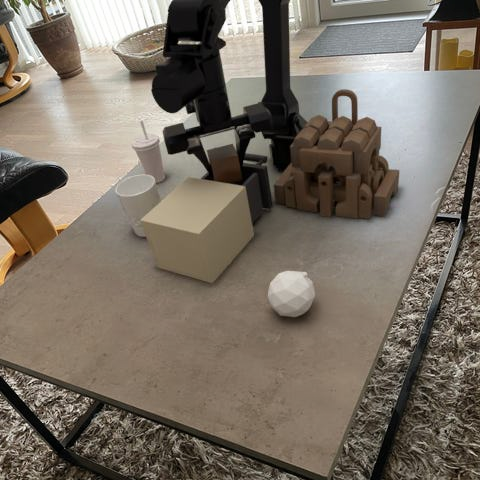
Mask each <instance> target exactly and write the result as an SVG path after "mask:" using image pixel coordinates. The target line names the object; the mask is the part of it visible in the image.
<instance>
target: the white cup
mask: <svg viewBox="0 0 480 480" xmlns="http://www.w3.org/2000/svg"><path fill="white" fill-rule="evenodd" d="M158 189H159V188H158V185H157V183H156V182H155V179H154V177H153V176H151V175H147V174H146V173H145V174H144V173H143V174H135V175H132V176H129V177H126V178H125V179H123V180H121V181H119V183H118V184H117V185H116V187H115V190H114V191H115V194H116V196H117V198H118V200H119V203H120V205H121V208H122V210H123V211H124V213H125V215H126V219H127V220H128V221H129V223H130V225H131V227H132V230H133V232H134V234H135V235H137V236H138V237H142V238H147V237H146V235H145V232H144V229H143V227H142V224H141V221H140V220H141V219H142V218H143V217H144V216H145V215H146V214H148V213H149V212H150V211H151V210H152V209H153V208H154V207H155V206H157V205H158V204H159V203H160V202H161V201H162V200H161V197H160V193H159V190H158Z"/></svg>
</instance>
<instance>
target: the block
mask: <svg viewBox="0 0 480 480" xmlns="http://www.w3.org/2000/svg"><path fill="white" fill-rule="evenodd" d="M206 155H207V158H208V161H209V163H210V166H211V169H212V172H213V178H214V181H216V182H222V183H228V184H230V183H234V182H237V181H241V180H242V174H241V169H240V163H239V158H238V154H237V152H236V146H235V145H234V143H230V144H225V145H222V146H218V147H214V148H209V149H207V150H206Z"/></svg>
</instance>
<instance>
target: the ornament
mask: <svg viewBox="0 0 480 480" xmlns="http://www.w3.org/2000/svg"><path fill="white" fill-rule="evenodd" d="M314 287H315V286H314V283H313V281H312V280H311V279H310V278H309V277H308V272H307V271H296V270H284V271H282V272H278V274H277V275H276V276H274V278H273V279H272V280H271V282H270V283H269V285H268V291H267V299H268V302H269V306H270V307H271V308H272V309H273V310H274V311H275V312H276V313H277V314H279V316H280V317H290V318H297V317H299V316H302V315H304V314H305V313H306V312H308V311H309V310H310V308H311V307H312V304H313V302H314V299H315V297H316V294H315V288H314Z"/></svg>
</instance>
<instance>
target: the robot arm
mask: <svg viewBox="0 0 480 480" xmlns="http://www.w3.org/2000/svg"><path fill="white" fill-rule="evenodd" d="M230 1H231V0H171V2H170V4H169V5H168V7H167V17H166V25H165V34H164V41H163V47H162V48H163V49H162V57H163V58H164V59H165V58H167V59H166V60H165V61H162V62H159V63H157V64H156V65H155V67H154V68H155V72H156V75H155V76H153V79H152V81H151V90H150V91H151V95H152V97H153V99H154V101H155V103H156V104H157V106H158V107H159V108H160V109H161V110H163V111H164V112H166V113H168V114H177V113H178V112H179V111H181V110H182V109H184V108H185V111H186V114H187V115H191V114H195V117H196V121H197V123H198V124H199V125H197V126H192V127H189V128H186V127H185V125H184V124H185V123H184V122H180V123H175V124H172V125H167V126H165V127H164V128H163V130H162V136H163V141H164V144H165V145H164V146H165V148H166V152H167V154H168V155H171V156H172V155H176V154H181V153H184V152H186V154H187V155H189V156H190V155H194V156H195V158H196V159H197V160H198V161H199V162H200V163H201V164H202V165H203V167H204V168H205V170H206V171H207V172H208V173H209V174H210V176H211V177H213V172H212V169H211V166H210V163H209V158H208V154H207V152H206V150H205V147H204V145H203V143H202V140H201V138H206V137H209V136H213V135H217V134H221V133H225V132H230V131H233V133H234V139H235V140H234V141H235V150H236V152H237V154H238V158H239V163H240V169H241V170H242V166H243V163H244V162H245V161H244V157H245V153H247V150H248V148H249V145H250V142H251V141H252V139H255V138H256V134H258V133H261V135H262V137H263V139H264V140H270V143H269V144H268V150H269V156H270V162H271V164H272V166H273V167H275V169H276V171H277V172H284V171H285V170H286V169H287V167H288V166H289V165H290V163H291V162H292V161H291V151H290V146H291V145H292V144H293V142H294V139H295V137H296V136H297V135H298V134H299V133H300V131H301V130H302V129H304V127H305V125H306V124H307V123H308V122H309V121H307V120H306V119H305V118H304V117H303V116H302V114H300V104H299V100H298V99H297V97H296V96H295V94H294V92H293V90H292V89H291V88H292V87H291V54H290V51H291V49H290V48H291V47H290V2H291V0H258V2H259V4H260V6H261V13H262V15H261V16H262V34H263V55H264V56H263V57H264V77H265V79H264V80H265V93H264V94H263V97H262V99H261V100H260V101H258V102H257V103H255V104H254V103H253V104H250V105H245V106H243V107H242V112H243V113H242V114H237V115H235V116H233V117H232V111H231V108H230V106H231V105H230V101H229V100H230V99H229V95H228V90H227V85H226V79H225V73H224V67H223V62H222V57H221V50H222V49H223V48H225V47H226V45H227V42H226V40H224V39H223V38H221V37H220V36H219V35H220V33H221V31H222V28H223V27H224V25H225V23H226V20H227V13H226V9H227V6H228V5H229V3H230ZM179 42H181V43H179Z"/></svg>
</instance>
